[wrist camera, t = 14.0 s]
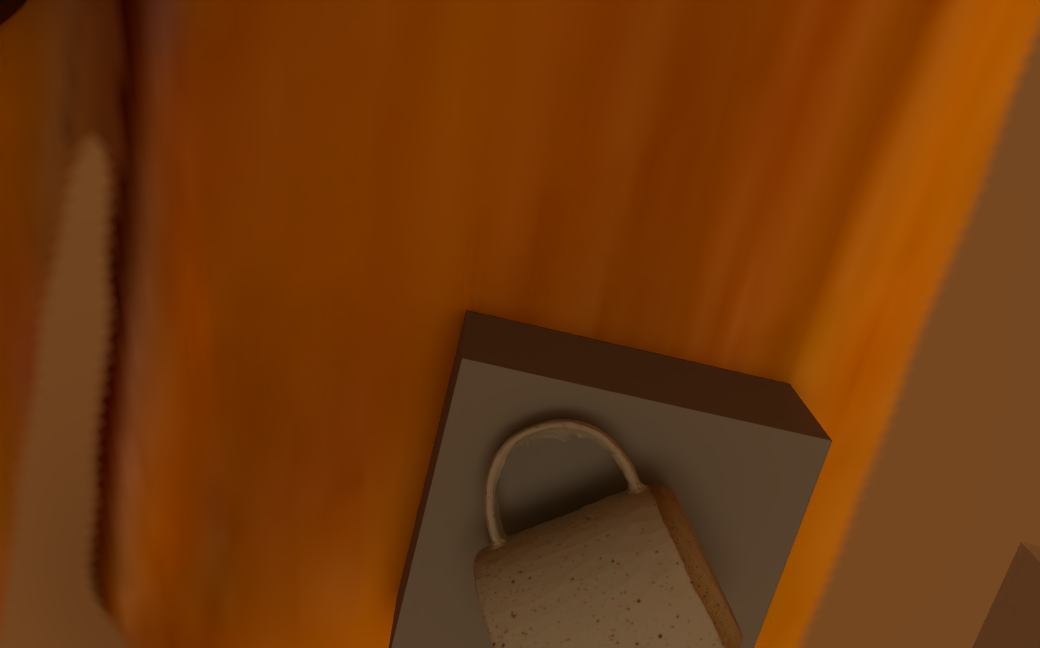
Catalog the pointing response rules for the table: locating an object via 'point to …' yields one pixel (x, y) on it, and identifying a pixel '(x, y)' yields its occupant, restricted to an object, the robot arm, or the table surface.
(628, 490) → the ceramic mug
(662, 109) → the table surface
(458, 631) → the slate block
